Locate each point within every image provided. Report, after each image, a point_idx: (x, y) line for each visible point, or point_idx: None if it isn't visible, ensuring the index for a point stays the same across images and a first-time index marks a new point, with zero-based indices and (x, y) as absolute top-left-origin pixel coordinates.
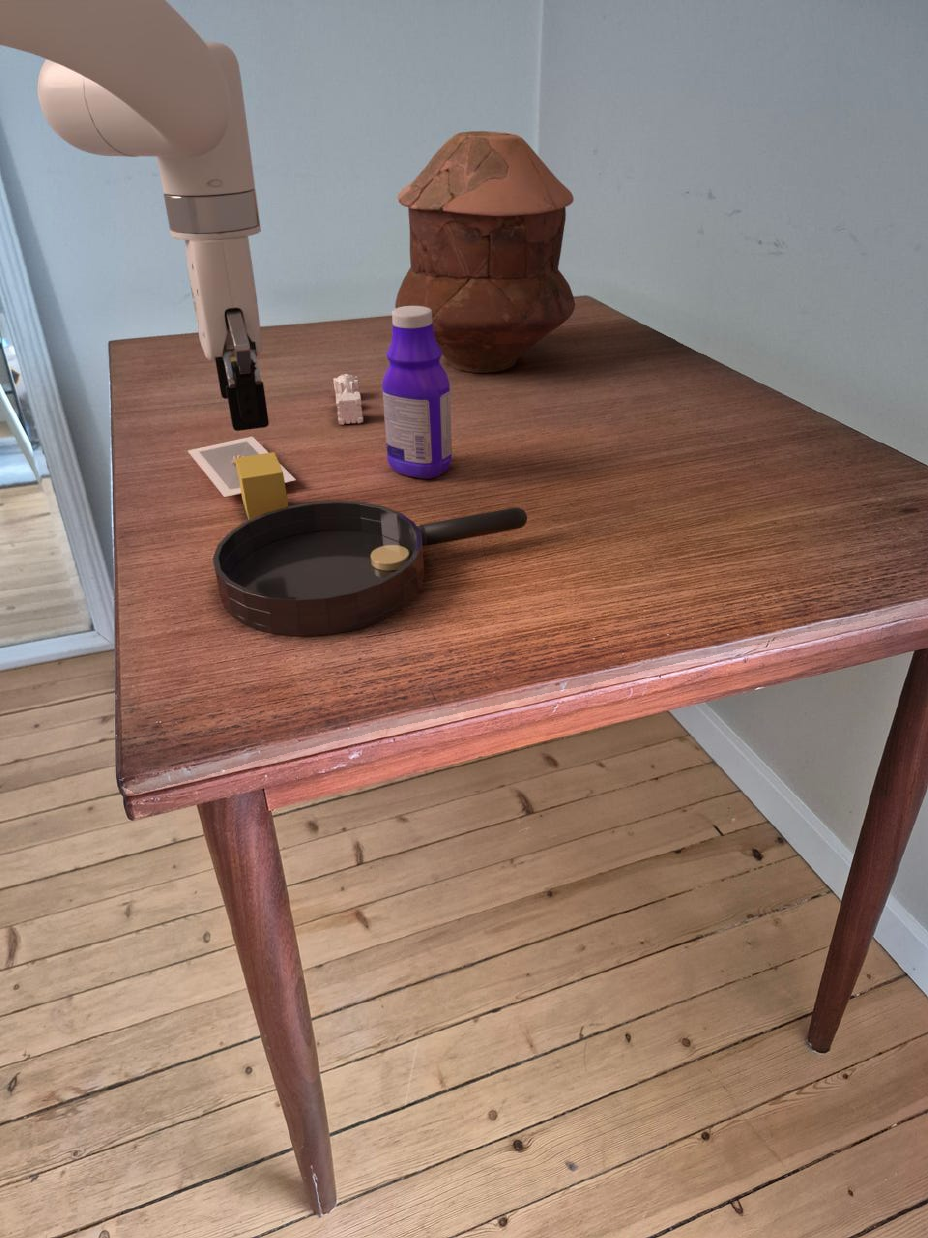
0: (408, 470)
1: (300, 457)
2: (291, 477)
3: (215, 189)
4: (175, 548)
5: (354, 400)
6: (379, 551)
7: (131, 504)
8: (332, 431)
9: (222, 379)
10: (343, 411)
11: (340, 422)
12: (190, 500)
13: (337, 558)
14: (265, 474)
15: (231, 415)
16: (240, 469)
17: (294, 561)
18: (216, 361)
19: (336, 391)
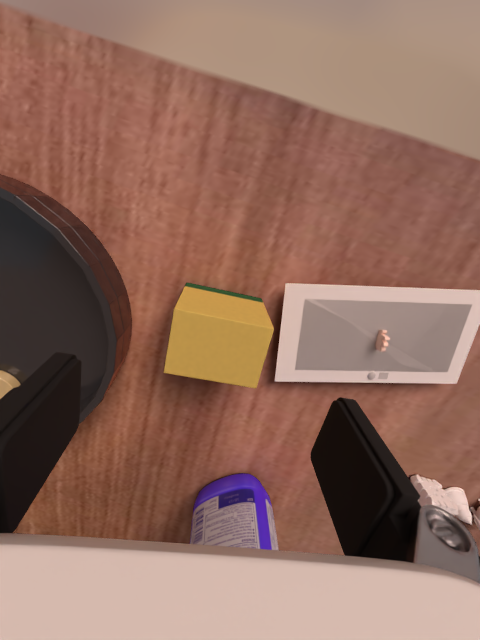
0: (214, 485)
1: (362, 408)
2: (285, 379)
3: None
4: (192, 164)
5: None
6: (2, 388)
7: (395, 150)
8: (404, 461)
9: (353, 439)
10: (420, 493)
11: (413, 477)
12: (340, 241)
13: (32, 343)
14: (169, 347)
15: (35, 374)
16: (215, 319)
17: (45, 296)
18: (394, 484)
19: None
